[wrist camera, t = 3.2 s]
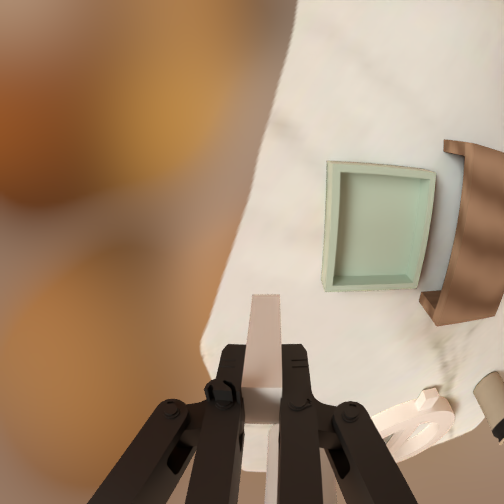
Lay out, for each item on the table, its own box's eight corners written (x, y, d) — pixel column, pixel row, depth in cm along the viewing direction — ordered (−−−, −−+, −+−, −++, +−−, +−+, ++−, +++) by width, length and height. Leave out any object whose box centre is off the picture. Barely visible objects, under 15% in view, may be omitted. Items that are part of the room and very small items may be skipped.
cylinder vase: (316, 408, 44) (324, 532, 21) (337, 432, 47) (347, 533, 25) (257, 424, 47) (247, 537, 24) (285, 446, 51) (282, 541, 28)
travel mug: (467, 396, 43) (492, 450, 27) (484, 373, 40) (514, 429, 24) (486, 390, 43) (510, 440, 26) (502, 368, 40) (531, 419, 23)
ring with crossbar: (373, 460, 56) (375, 473, 52) (319, 440, 50) (320, 457, 45) (457, 413, 47) (463, 426, 43) (430, 378, 40) (438, 395, 36)
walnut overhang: (443, 139, 25) (473, 143, 19) (502, 155, 24) (530, 162, 18) (418, 300, 33) (436, 326, 28) (475, 295, 32) (494, 316, 27)
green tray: (326, 160, 27) (332, 163, 25) (423, 168, 26) (436, 172, 24) (320, 279, 33) (324, 292, 30) (407, 276, 32) (416, 288, 29)
